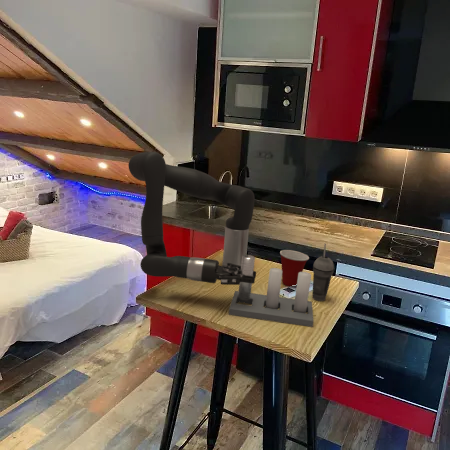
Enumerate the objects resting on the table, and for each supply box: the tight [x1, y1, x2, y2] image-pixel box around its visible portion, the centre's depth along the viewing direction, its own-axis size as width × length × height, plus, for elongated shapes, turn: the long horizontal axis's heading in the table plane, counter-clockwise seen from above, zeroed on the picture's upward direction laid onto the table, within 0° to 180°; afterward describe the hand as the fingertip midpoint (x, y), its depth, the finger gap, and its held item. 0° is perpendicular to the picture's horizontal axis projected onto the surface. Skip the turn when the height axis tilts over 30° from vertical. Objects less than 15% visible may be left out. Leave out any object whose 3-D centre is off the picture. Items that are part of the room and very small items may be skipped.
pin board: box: [228, 267, 314, 328], centre depth 138 cm, size 14×26×14 cm, turn 81°
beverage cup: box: [312, 243, 335, 302], centre depth 149 cm, size 7×7×20 cm
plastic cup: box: [279, 249, 310, 287], centre depth 161 cm, size 11×11×12 cm
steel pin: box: [238, 254, 256, 300], centre depth 138 cm, size 4×4×14 cm
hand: (255, 277), depth 138 cm, fingers closed on steel pin, 4 cm apart
